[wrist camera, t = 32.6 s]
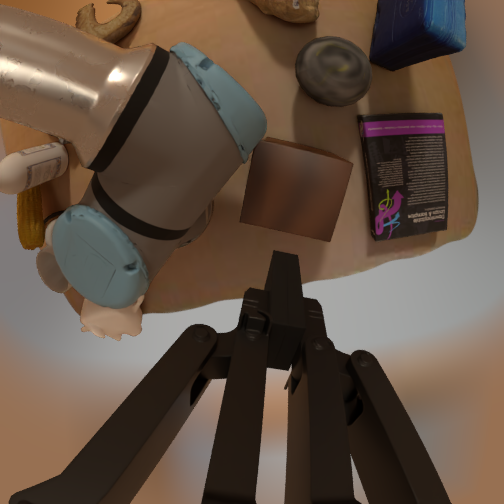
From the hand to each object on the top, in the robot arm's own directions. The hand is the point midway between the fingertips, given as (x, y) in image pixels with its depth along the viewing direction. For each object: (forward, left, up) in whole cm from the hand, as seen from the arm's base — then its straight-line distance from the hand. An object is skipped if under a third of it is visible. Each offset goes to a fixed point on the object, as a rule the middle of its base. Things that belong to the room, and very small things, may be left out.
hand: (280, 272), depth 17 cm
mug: (-37, -18, -26) cm, 49 cm away
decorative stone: (+3, +18, -27) cm, 32 cm away
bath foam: (-42, -1, -27) cm, 50 cm away
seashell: (-6, +29, -27) cm, 40 cm away
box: (+19, +7, -27) cm, 33 cm away
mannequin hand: (-24, -34, -24) cm, 48 cm away
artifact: (-27, +25, -25) cm, 45 cm away
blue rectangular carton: (+11, +29, -27) cm, 41 cm away
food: (-53, -2, -23) cm, 58 cm away
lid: (+1, +2, -15) cm, 15 cm away
